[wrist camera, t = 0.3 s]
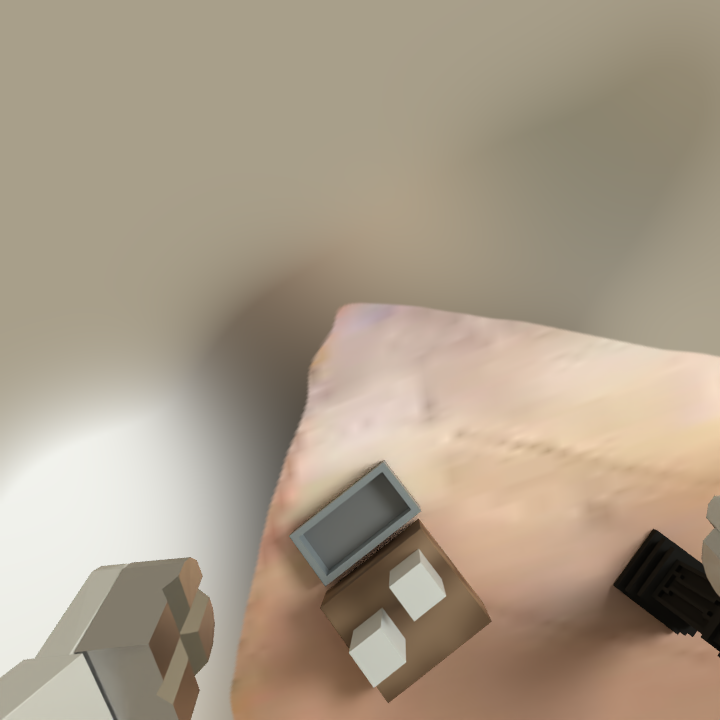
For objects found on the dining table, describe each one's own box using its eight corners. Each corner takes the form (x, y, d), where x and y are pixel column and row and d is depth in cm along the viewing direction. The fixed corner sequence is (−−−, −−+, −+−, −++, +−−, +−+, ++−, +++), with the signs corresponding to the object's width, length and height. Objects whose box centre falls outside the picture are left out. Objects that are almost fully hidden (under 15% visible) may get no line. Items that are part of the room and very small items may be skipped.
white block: (441, 579, 53) (446, 596, 48) (412, 602, 53) (414, 621, 48) (418, 548, 54) (420, 562, 49) (389, 571, 54) (388, 587, 49)
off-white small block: (405, 639, 53) (406, 662, 48) (376, 662, 53) (373, 687, 48) (382, 607, 53) (380, 627, 48) (353, 630, 53) (348, 652, 48)
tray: (420, 507, 59) (421, 511, 57) (328, 579, 59) (325, 586, 56) (384, 460, 60) (383, 461, 58) (293, 531, 60) (289, 536, 57)
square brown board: (483, 603, 57) (491, 621, 52) (389, 678, 57) (388, 703, 52) (418, 519, 59) (420, 528, 54) (326, 591, 59) (320, 607, 54)
